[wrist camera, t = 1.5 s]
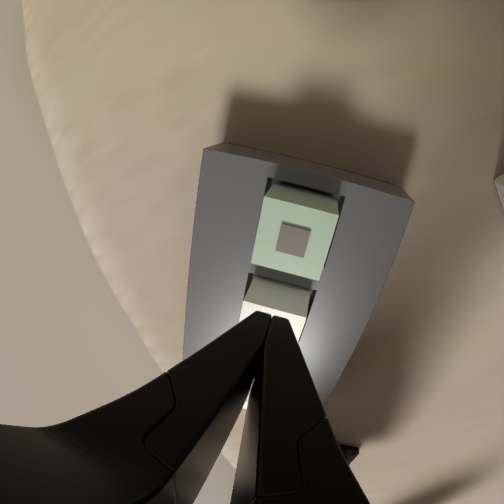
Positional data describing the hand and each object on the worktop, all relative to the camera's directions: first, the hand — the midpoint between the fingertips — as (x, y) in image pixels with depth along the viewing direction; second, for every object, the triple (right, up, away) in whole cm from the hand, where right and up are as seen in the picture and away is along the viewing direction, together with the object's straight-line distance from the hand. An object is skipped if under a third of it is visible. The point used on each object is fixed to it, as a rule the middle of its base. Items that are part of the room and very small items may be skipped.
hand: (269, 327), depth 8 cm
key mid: (+1, -1, +10) cm, 10 cm away
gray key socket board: (+1, 0, +12) cm, 12 cm away
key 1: (+2, +4, +7) cm, 8 cm away
